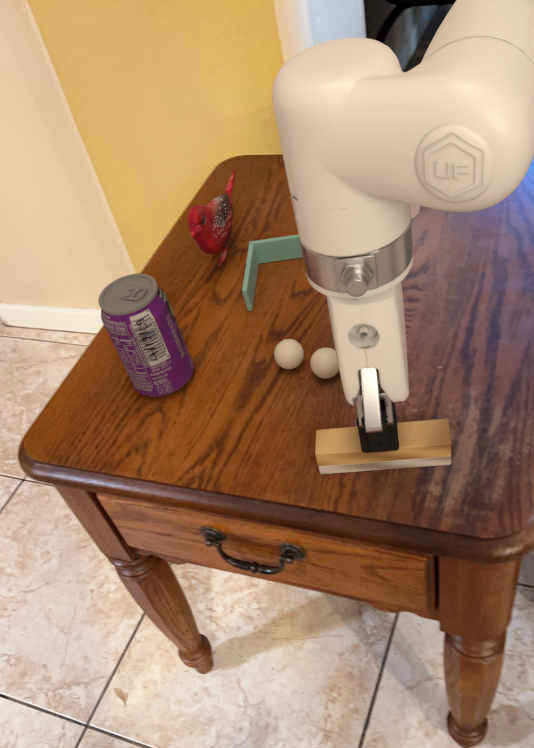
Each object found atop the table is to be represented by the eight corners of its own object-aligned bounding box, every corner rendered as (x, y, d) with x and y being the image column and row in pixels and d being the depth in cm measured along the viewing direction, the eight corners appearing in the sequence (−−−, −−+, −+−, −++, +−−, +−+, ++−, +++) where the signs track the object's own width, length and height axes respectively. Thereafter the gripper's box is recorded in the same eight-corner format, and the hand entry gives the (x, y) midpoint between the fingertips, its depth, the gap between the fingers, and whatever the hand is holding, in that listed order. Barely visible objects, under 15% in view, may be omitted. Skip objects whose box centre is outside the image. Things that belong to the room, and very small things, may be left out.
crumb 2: (343, 362, 75) (339, 339, 72) (342, 383, 73) (338, 360, 70) (313, 365, 75) (308, 342, 73) (312, 386, 73) (307, 363, 71)
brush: (448, 439, 65) (447, 360, 58) (451, 464, 63) (450, 386, 56) (320, 450, 68) (303, 375, 60) (320, 474, 66) (301, 400, 58)
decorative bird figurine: (199, 292, 88) (175, 221, 80) (235, 211, 98) (217, 142, 91) (220, 291, 87) (198, 220, 80) (255, 210, 97) (237, 140, 90)
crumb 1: (306, 353, 77) (301, 331, 74) (305, 373, 75) (300, 351, 72) (278, 356, 77) (272, 334, 75) (276, 376, 76) (270, 354, 73)
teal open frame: (388, 217, 90) (387, 195, 87) (393, 292, 80) (391, 271, 78) (258, 236, 93) (253, 216, 91) (247, 311, 84) (241, 290, 81)
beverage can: (205, 359, 80) (172, 271, 71) (181, 404, 76) (143, 317, 67) (151, 354, 82) (113, 269, 73) (125, 398, 78) (81, 313, 69)
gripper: (420, 322, 42) (429, 499, 56) (406, 174, 53) (417, 354, 67) (297, 336, 44) (336, 505, 58) (307, 189, 54) (338, 362, 68)
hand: (379, 422), depth 62 cm, fingers open, 5 cm apart
